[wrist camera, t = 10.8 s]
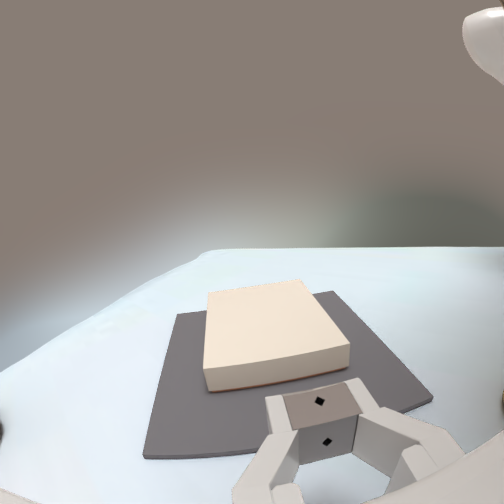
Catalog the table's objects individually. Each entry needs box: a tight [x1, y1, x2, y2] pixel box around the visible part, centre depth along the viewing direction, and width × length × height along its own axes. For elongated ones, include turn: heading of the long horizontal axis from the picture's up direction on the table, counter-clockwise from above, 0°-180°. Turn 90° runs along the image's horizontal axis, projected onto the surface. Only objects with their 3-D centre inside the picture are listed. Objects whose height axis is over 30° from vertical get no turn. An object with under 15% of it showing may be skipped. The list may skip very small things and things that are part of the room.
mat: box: [142, 291, 433, 459], centre depth 24 cm, size 20×18×1 cm
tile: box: [203, 279, 350, 392], centre depth 26 cm, size 2×10×14 cm
